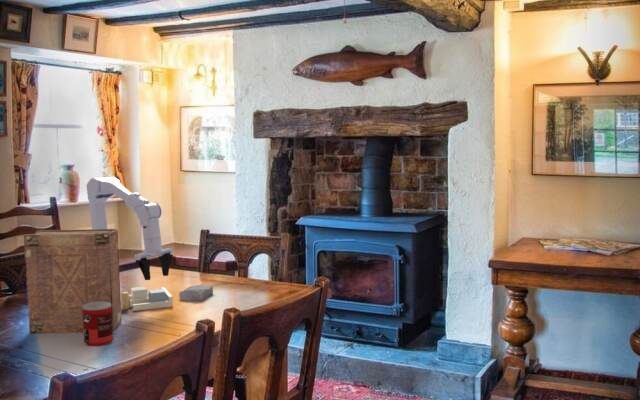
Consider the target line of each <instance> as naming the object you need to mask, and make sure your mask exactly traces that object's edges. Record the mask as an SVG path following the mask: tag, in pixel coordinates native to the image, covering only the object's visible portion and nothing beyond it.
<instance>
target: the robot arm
mask: <svg viewBox="0 0 640 400" xmlns="http://www.w3.org/2000/svg"><path fill="white" fill-rule="evenodd" d="M86 192H87V193H86V194H87V200H88V204H89V205H88V206H89V214H90V221H91V222H90V223H91V229H108V224H107V223H108V222H107V213H106V202H107V201H108V200H109V199H110V198H111V197H113V196H116V197H117V198H119V199H121V200H122V201H124V203H125V206H126V207H127V208H128V209H130V211H131V210H132V212H134V213H135V214H136V217H137V219H138V221H139V224H140V226H141V228H142V236H143V237H142V239H143V244H144V245H143V246H144V252H141V253H136V254H134V261H135V263H136V265H137V266H138V267H139V269H140V271H141V273H142V275H143V278H144V280H145V281H150V280H151V270H150V269H151V268H150V267H151V259H150V258H155V257H158V259H159V262H160V265H161V266H160V267H161V271H162V272H161V273H162V275H163V277H168V276H169V272H170V266H171V263H172V260H173V258H174V250H173V247H167V248H163V246H162V245H163V244H162V238H161V229H160V228H161V227H160V220H159V219H160V218H161V216H162V207H161V206H160V204H158V202H155V201H154V202H150V201H149V199H146V198H145V197H143V196H142V195H141V193H139V192H131V191H130V190H129V189H128V188H126V187H125V186H124V185H122V184H121V181H120V179H118V178H117V177H116V176H109V177H108V176H107V177H92V178H90V179H89V181H88V182H87V183H86Z"/></svg>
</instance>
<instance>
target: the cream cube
mask: <svg viewBox="0 0 640 400" xmlns="http://www.w3.org/2000/svg"><path fill="white" fill-rule="evenodd" d="M148 293H149V290H148V288H147V287H146V286H137V287H131V288H130V295H131V300H132V299H141V298H148Z"/></svg>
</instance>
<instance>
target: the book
mask: <svg viewBox="0 0 640 400" xmlns="http://www.w3.org/2000/svg"><path fill="white" fill-rule="evenodd" d="M118 231H119V230H118V229H116V228H110V229H109V228H107V229H92V228H91V229H46V230H36V231H35V233H34V234H24V235H23V246H24V247H23V248H24V262H25V276H26V295H27V296H26V297H27V313H28V329H29V333H30V334H54V333H55V334H57V333H58V334H63V333H65V334H66V333H84V329H83V310H82V308H83V305H84V304H87V303H91V302H99V301H104V302H110V303H111V305H112V325H113V331H115V330H116V329H117V328H118V327H119V326H120V324H121V323H122V299H121V277H120V256H119V253H120V252H119V251H120V250H119V232H118Z"/></svg>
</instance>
